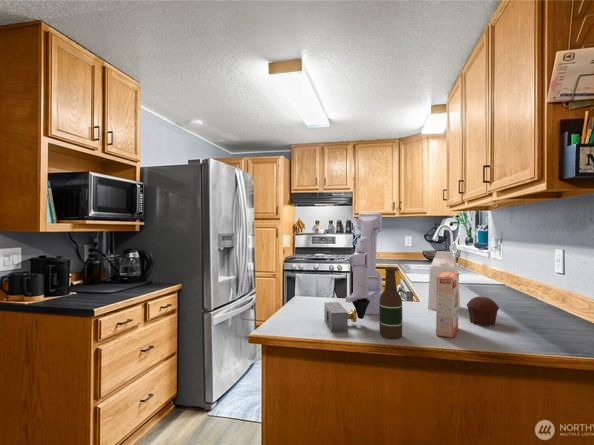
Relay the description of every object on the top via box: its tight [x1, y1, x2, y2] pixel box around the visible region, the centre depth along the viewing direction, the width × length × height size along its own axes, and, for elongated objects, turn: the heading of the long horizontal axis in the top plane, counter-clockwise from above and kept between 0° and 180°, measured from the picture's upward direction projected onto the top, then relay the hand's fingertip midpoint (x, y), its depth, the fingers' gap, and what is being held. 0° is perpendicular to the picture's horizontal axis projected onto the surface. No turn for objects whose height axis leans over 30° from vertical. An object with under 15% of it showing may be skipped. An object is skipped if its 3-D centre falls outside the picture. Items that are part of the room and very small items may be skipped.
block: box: [323, 301, 349, 333], centre depth 133 cm, size 6×16×7 cm, turn 5°
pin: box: [347, 308, 358, 323], centre depth 133 cm, size 10×5×5 cm, turn 95°
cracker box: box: [435, 272, 460, 339], centre depth 124 cm, size 14×6×21 cm, turn 148°
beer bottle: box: [378, 266, 403, 340], centre depth 121 cm, size 8×8×24 cm
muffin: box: [466, 296, 500, 327], centre depth 135 cm, size 12×11×10 cm
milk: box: [427, 250, 461, 311], centre depth 159 cm, size 12×12×26 cm
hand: (360, 318), depth 134 cm, fingers closed
